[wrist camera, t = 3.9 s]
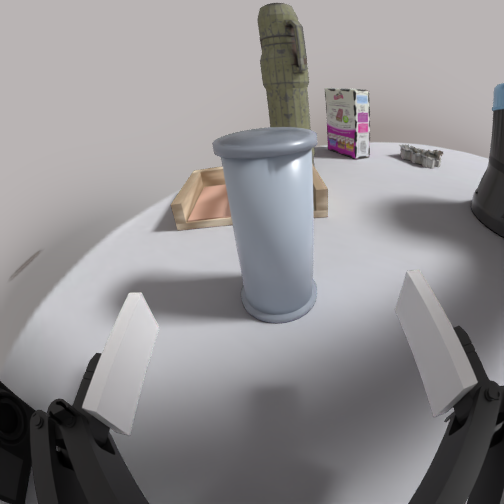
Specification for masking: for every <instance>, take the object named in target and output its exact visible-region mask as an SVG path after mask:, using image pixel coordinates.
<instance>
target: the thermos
mask: <svg viewBox="0 0 504 504" xmlns="http://www.w3.org/2000/svg"><path fill="white" fill-rule="evenodd" d="M258 27H259V34H260V42H261V48H262V55H261V60H260V64H261V72H262V80H263V85H264V87H265V88H266V91H267V101H268V109H269V117H270V127H295V128H304V129H309V130H311V129H310V116H309V103H308V92H307V87H308V83H309V77H308V68H307V57H306V49H305V41H304V34H303V27H302V25H301V24H300V23H299V22H298V18H297V15H296V14H295V12H294V10H293V8H292V7H291V6H290V5H287V4H284V3H272V4H267V5H265V6H263V7H261V8H260V11H259V15H258ZM314 155H315V154H314V147H313V148H312V164H313V165H314Z"/></svg>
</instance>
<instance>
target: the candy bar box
mask: <svg viewBox="0 0 504 504" xmlns="http://www.w3.org/2000/svg"><path fill="white" fill-rule="evenodd" d="M325 97H326V113H327V134H328V149H329V150H331V151H334V152H337V153H340V154H343V155H346V156H349V157H352V158H354V159H359V158H367V157H370V109H369V108H370V107H369V91H368V90H360V89H337V88H336V89H334V88H331V89H330V88H326V89H325Z"/></svg>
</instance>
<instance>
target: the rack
mask: <svg viewBox="0 0 504 504" xmlns="http://www.w3.org/2000/svg"><path fill="white" fill-rule="evenodd" d="M312 171H313V214H314V218H319V217H328V189H327V187H326V185H325V184H324V182H323V180H322V179H321V177H320V175H319V174H318V172H317V170H316V169H315V167H314V165H313V164H312ZM171 208H172V212H173V215H174V219H175V222H176V226H177V229H178V230H187V229H196V228H206V227H215V226H225V225H233V223H232V218H231V212H230V206H229V201H228V195H227V189H226V183H225V178H224V172H223V167H215V168H208V169H201V170H196V171H193V173H192V174H191V176H190V177H189V178H188V180H187V181H186V183H185V184H184V186H183V187H182V189H181V190H180V192H179V193H178V195H177V196H176V198H175V199H174V201H173V202H172V204H171Z"/></svg>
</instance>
